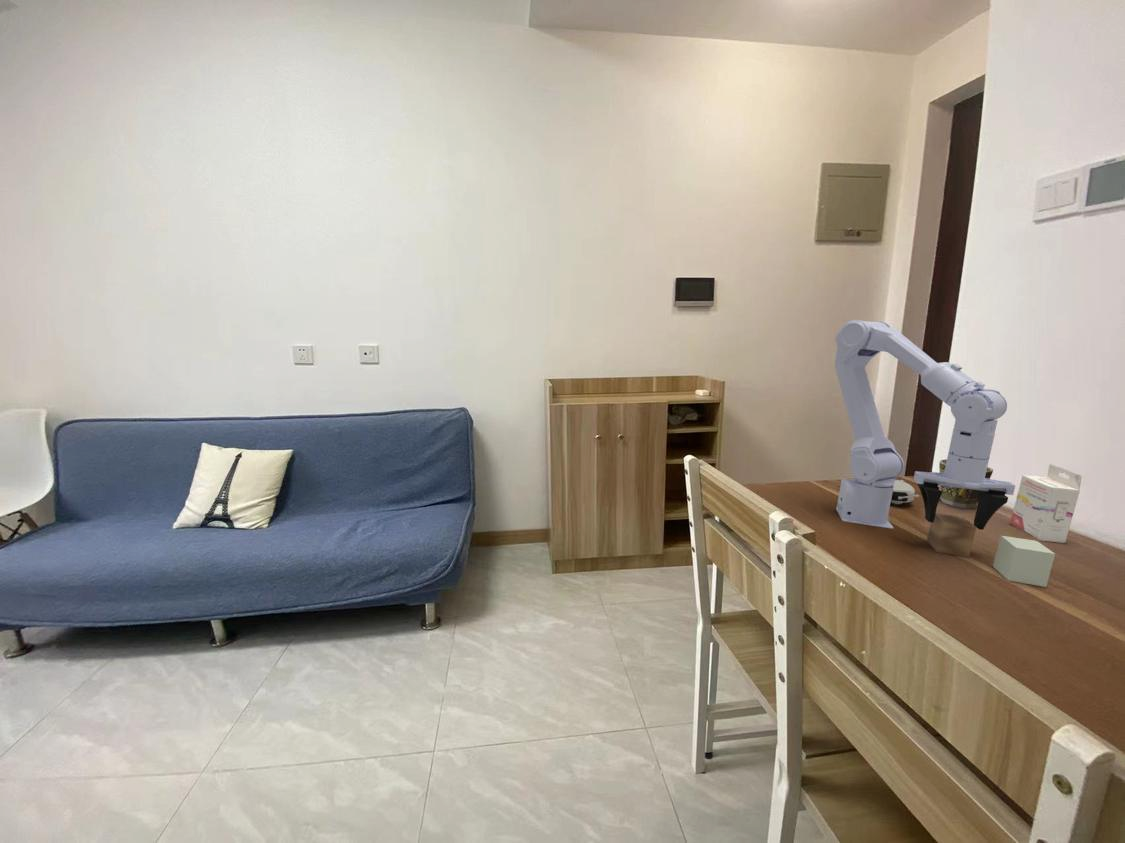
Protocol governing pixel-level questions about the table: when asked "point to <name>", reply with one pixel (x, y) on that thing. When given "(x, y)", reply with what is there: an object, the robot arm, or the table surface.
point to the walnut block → (951, 535)
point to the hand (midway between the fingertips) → (953, 524)
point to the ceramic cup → (960, 492)
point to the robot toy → (902, 492)
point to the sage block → (1023, 561)
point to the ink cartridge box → (1047, 504)
